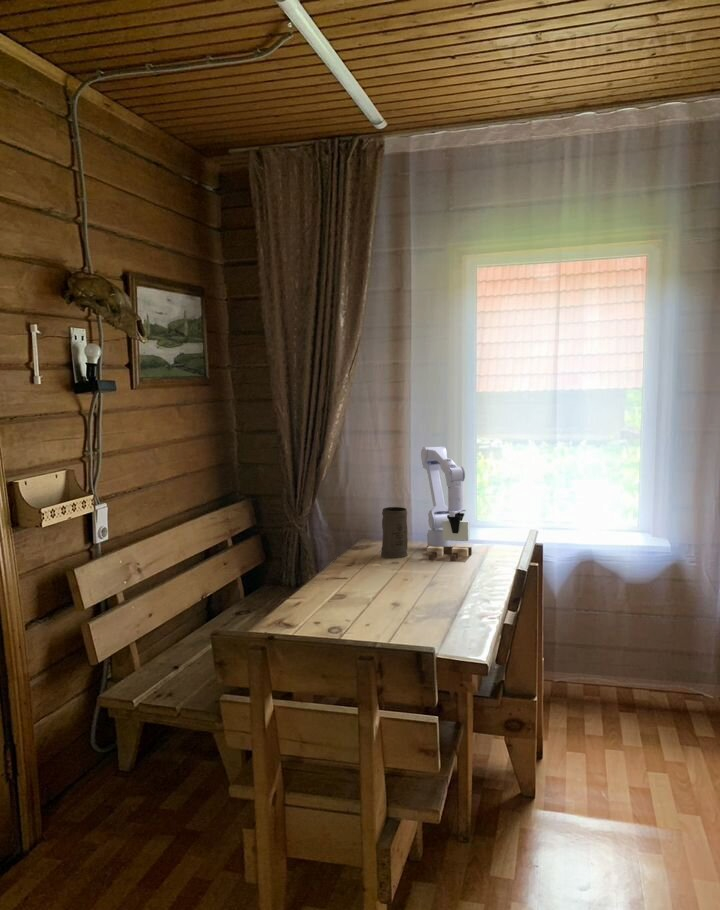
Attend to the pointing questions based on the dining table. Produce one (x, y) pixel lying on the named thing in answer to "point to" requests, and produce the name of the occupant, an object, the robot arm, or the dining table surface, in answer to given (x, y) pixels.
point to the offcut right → (460, 551)
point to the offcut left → (435, 550)
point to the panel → (460, 536)
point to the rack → (447, 555)
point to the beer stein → (394, 533)
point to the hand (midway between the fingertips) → (456, 532)
